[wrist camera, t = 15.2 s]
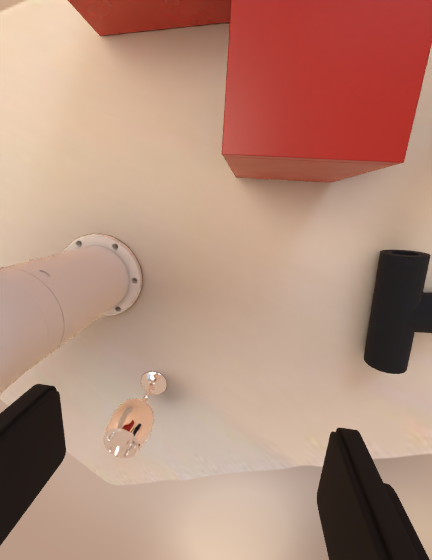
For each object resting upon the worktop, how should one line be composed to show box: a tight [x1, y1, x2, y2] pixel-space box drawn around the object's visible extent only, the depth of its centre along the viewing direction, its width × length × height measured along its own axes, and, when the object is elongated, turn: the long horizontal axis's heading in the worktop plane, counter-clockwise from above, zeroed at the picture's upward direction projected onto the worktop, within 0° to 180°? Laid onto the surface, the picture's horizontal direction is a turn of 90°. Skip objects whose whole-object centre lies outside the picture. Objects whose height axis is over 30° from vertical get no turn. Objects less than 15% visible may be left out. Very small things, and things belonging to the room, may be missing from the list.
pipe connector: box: [364, 250, 432, 374], centre depth 34 cm, size 12×5×15 cm
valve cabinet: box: [222, 0, 432, 182], centre depth 24 cm, size 12×17×17 cm
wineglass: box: [104, 371, 167, 458], centre depth 40 cm, size 6×6×12 cm
